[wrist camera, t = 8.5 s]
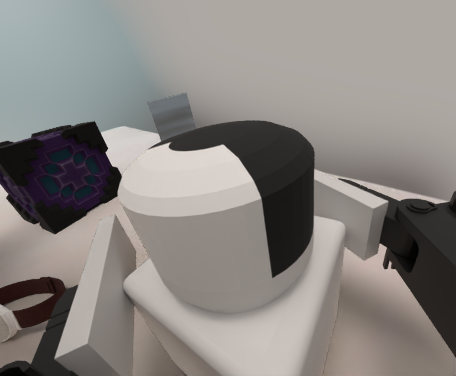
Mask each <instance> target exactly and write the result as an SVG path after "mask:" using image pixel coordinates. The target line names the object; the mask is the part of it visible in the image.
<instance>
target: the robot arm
mask: <svg viewBox="0 0 456 376" xmlns="http://www.w3.org/2000/svg"><path fill="white" fill-rule="evenodd" d="M314 216H319V217H323V218H328V219H333V220H337V221H340V222H342V223H343V224H344V225H345V227H346V237H345V247H346V248H348V249H349V250H350V251H352V252H353V253H354V254H356V255H357V256H358V257H360V258H361V259H362V260H366V259H368V258H370V257H372V256H374V255H376V254H377V253H378V248H379V244H380V243H381V244H382V245H384V246H385V247H387V250H386V254H385V258H384V262H383V267H384V269H387V268H388V264H389V261H391V263H392V265H391V269H396V270H397V272H398V273H399V275H400V276H401V277H402V279H403V280H404V282H405V283H406V285H407V286H408V288H409V289H410V291H411V292H412V294H413V295H414V297H415V298H416V300H417V301H418V303H419V304H420V306H421V307H422V308H423V310H424V311H425V313H426V314H427V316H428V317H429V319H430V320H431V322H432V323H433V325H434V326H435V328H436V329H437V331H438V332H439V334H440V335H441V336H442V338H443V339H444V341H445V342H446V344H447V345H448V347H449V348H450V350H451V351H452V353H453V354H454V356H455V357H456V191H455V192H454V193H453V196H452V198H451V201H450V202H446V203H440V204H434V203H432V202H429V201H426V200H421V199H404V200H401V201H398V200H395V199H393V198H391V197H388V196H386V195H383V194H381V193H379V192H376V191H374V190H372V189H368V188H367V187H364V186H362V185H361V186H360V184H357V183H355V182H353V181H350V180H345V179H340V178H338V179H336V178H334V177H332V176H330V175H327V174H325V173H323V172H320V171H318V170H316V169H314ZM135 270H136V250H135V248H134V247H133V245H132V243H131V241H130V239H129V238H128V236H127V234H126V232H125V231H124V229H123V227H122V225H121V224H120V222H119V220H118V218H117V216H116V215H115V214H114V215H112V216H109V217H106V218H103V219H100V221H99V224H98V227H97V230H96V233H95V236H94V239H93V242H92V245H91V248H90V251H89V254H88V258H87V261H86V264H85V267H84V270H83V273H82V276H81V279H80V282H79V285H76V286H74V287H71V288H69V289H67V290H66V291H65V292H64V293H63V295H62V296H61V297H60V299H59V300H58V301H57V303H56V304H55V307H54V309H53V312H52V314H51V317H50V318H51V320H49V321H48V324H47V326H46V329H45V330H46V332H44V334H43V336H42V339H41V341H40V344H39V346H38V349H37V351H36V353H35V356H34V358H33V361H32V363H31V364H29V363H28V362H26V361H15V362H12V363H10V364H7V365H5V366H3V367H2V368H0V376H132V365H133V334H134V304H133V302H132V301H131V300H130V298H129V297H128V295H127V294H126V292H125V291H124V288H123V283H124V280H125V279H126V278H127V277H128V276H129V275H130V274H131V273H132V272H134V271H135Z"/></svg>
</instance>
